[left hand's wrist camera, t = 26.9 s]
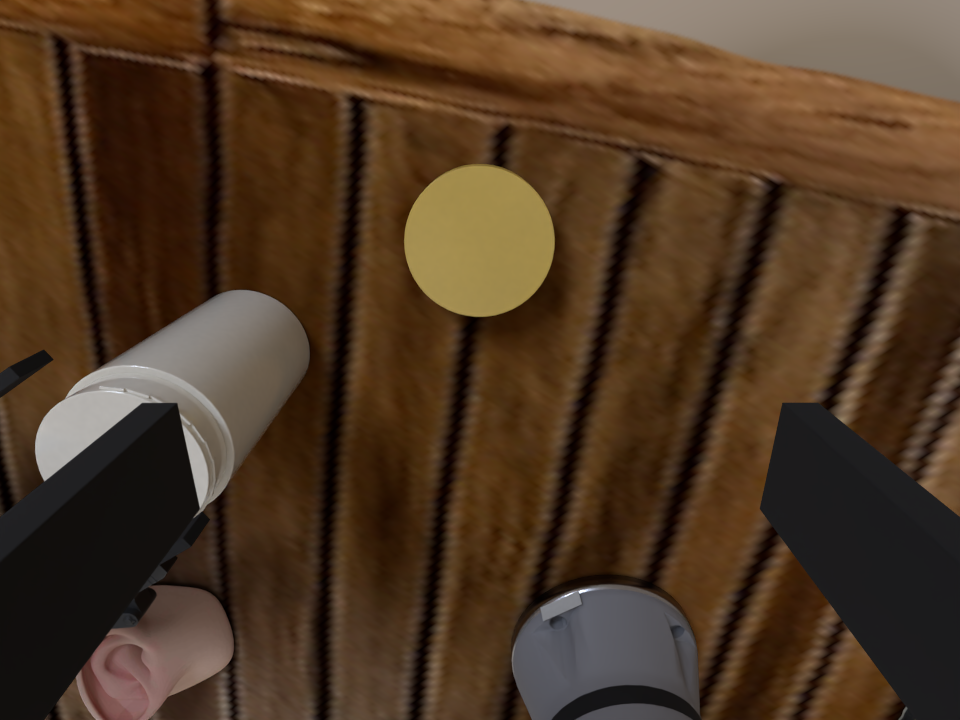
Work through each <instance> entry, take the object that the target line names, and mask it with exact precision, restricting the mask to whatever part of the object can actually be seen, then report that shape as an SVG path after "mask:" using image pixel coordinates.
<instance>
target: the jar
mask: <svg viewBox="0 0 960 720" xmlns="http://www.w3.org/2000/svg"><path fill="white" fill-rule="evenodd" d="M309 359H310V350H309V343H308V339H307V336H306V333H305V331H304V329H303V327H302V325H301V323H300V322H299V320H298V319H297V317H296V316H295V315H294V314H293V313H292V312H291V311H290V310H289V309H288V308H287V307H286V306H285V305H283V304H282V303H280V302H279V301H277V300H275V299H274V298H272V297H270V296H267V295H265V294H262V293H258V292H255V291H248V290H234V291H228V292H224V293H221V294H219V295H216V296H214V297H213V298H211V299H209V300H208V301H206V302H204V303H203V304H201V305H200V306H198V307H196V308H195V309H193V310H192V311H190V312H188V313H187V314H185V315H184V316H182V317H180V318H179V319H177V320H176V321H174V322H172V323H171V324H169V325H167V326H166V327H164V328H163V329H161V330H159V331H158V332H156V333H155V334H153V335H151V336H150V337H148V338H147V339H145V340H143V341H142V342H140V343H139V344H137V345H135V346H134V347H132V348H131V349H129V350H127V351H126V352H124V353H123V354H121V355H119V356H118V357H116V358H115V359H113V360H111V361H110V362H108V363H106V364H105V365H103V366H102V367H100V368H98V369H97V370H95V371H94V372H92V373H90V374H89V375H87V376H86V377H84V378H83V379H81V380H80V381H79V382H78V383H77V384H75V386H74V387H73V388H72V389H71V390H70V391H69V393H68V395H67V396H66V398H65V399H64V400H63V401H61V402H60V403H58V404H57V405H56V406H54V407H53V408H52V409H51V410H50V411H49V412H48V414H47V415H46V416H45V417H44V419H43V421H42V422H41V424H40V427H39V429H38V432H37V436H36V442H35V453H36V460H37V464H38V467H39V471H40V473H41V475H42V477H43V480H44V481H46V480H47V479H48V478H49V477H51V476H52V475H53V474H54V473H56V472H57V471H58V470H59V469H61V468H62V467H63V466H64V465H65V464H67V463H68V462H69V461H70V460H72V459H73V458H74V457H75V456H77V455H78V454H79V453H80V452H82V451H83V450H84V449H85V448H87V447H88V446H89V445H90V444H92V443H93V442H94V441H95V440H97V439H98V438H99V437H100V436H102V435H103V434H104V433H105V432H106V431H108V430H109V429H110V428H111V427H113V426H114V425H115V424H116V423H118V422H119V421H120V420H121V419H123V418H124V417H125V416H126V415H128V414H129V413H130V412H131V411H133V410H134V409H135V408H136V407H138V406H139V405H140V404H141V403H178V408H179V413H180V417H181V422H182V427H183V431H184V436H185V441H186V445H187V450H188V455H189V459H190V464H191V469H192V473H193V478H194V483H195V487H196V492H197V496H198V501H199V506H200V510H199V511H198V512H197V514H196V515H195V517H196V516H197V515H198V514H199V513H200V512H202V511H203V510H204V509H205V507H206V505H207V504H209V503H210V502H212V501H213V500H214V499H215V498H216V497H217V496H219V495H220V494H221V492H222V491H223V490H224V488H225V487H226V486H227V484H228V483H229V482H230V480H231V479H232V477H233V476H234V475H235V473H236V472H237V470H238V469H239V468H240V466H241V465H242V463H243V462H244V461H245V459H246V458H247V456H248V455H249V454H250V452H251V451H252V449H253V448H254V447H255V445H256V444H257V442H258V441H259V440H260V438H261V437H262V435H263V434H264V433H265V431H266V430H267V428H268V427H269V426H270V424H271V423H272V421H273V420H274V419H275V417H276V416H277V414H278V413H279V412H280V410H281V409H282V407H283V406H284V405H285V403H286V402H287V400H288V399H289V398H290V396H291V395H292V393H293V392H294V391H295V389H296V388H297V386H298V385H299V384H300V382H301V381H302V379H303V378H304V376H305V374H306V371H307V368H308V365H309Z"/></svg>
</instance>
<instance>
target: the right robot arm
mask: <svg viewBox="0 0 960 720" xmlns="http://www.w3.org/2000/svg"><path fill="white" fill-rule="evenodd" d="M52 360H54V359H53V358H52V357H51V356H50V355H49V354H48V353H47V352H46V351H45V350H42V351H40V352H38V353H36V354H34V355H32V356H30V357H28V358H26V359H24V360H22V361H20V362H18V363H16V364H14V365H12V366H10V367H8V368H7V369H6V370H4V371H3V372H2V373H0V398H1V397H2V396H3V395H5V394H6V393H8V392H9V391H10V390H12V389H13V388H15V387H16V386H17V385H19V384H20V383H22V382H23V381H24V380H26V379H27V378H28V377H30V376H31V375H33V374H34V373H35V372H37V371H38V370H40V369H41V368H42V367H44V366H45V365H47V364H48V363H49V362H51V361H52ZM209 520H210V519H209V518H208V517H207V516H206V515H205V514H204V513H203V512H201V513H199V514H198V515H197V516H196V517H194V518H193V519H192V521H191V522H190V523H189V525H188V526H187V527H186V529H185V530H184V531H183V533H182V534H181V535H180V537H179V538H178V539H177V541H176V542H175V544H174V545H173V546H172V548H171V549H170V550H169V552H168V553H167V554H166V556H165V557H164V558H163V560H162V561H161V562H160V564H159V565H158V567H157V568H156V569H155V571H154V572H153V573H152V575H151V576H150V577H149V579H148V580H147V581H146V583H145V584H144V585H143V587H142V588H141V589H140V591H139V592H138V594H137V595H136V596H135V598H134V599H133V600H132V602H131V603H130V604H129V606H128V607H127V608H126V610H125V611H124V612H123V614H122V615H121V617H120V618H119V619H118V621H117V622H116V623H115V625H114V626H113V627H112V629H118V628H130V627H135V626H136V625H137V624H138V623H139V621H140V620H141V619H142V617H143V616H144V614H145V613H146V611H147V610H148V609H149V607H150V606H151V604H152V603H153V601H154V600H155V598H156V596H157V593H156V592H155V590H154V589H152V588H150V587H149V586H151V585H152V584H154V583H156V582H157V581H159V580H161V579H163V578H164V577H165V576H166V574H167V573H168V571H169V570H170V568H171V567H172V566H173V564H174V563H175V561H176V560H177V557H176V555H178V554H179V553H181V552H183V551H184V550H186V549H188V548H190V547H191V546H192V545H193V543H194V542H195V540H196V539H197V537H198V536H199V535H200V533H201V532H202V530H203V529H204V527H205V526H206V524H207V523H208V522H209Z"/></svg>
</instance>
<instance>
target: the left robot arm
mask: <svg viewBox="0 0 960 720" xmlns="http://www.w3.org/2000/svg"><path fill="white" fill-rule="evenodd" d="M199 510H200V506H199V501H198V496H197V492H196V487H195V483H194V478H193V473H192V469H191V464H190V459H189V455H188V450H187V445H186V441H185V436H184V431H183V427H182V422H181V417H180V413H179V408H178V403H141V404H140V405H139V406H138V407H136V408H135V409H134V410H133V411H131V412H130V413H129V414H128V415H126V416H125V417H124V418H123V419H121V420H120V421H119V422H118V423H116V424H115V425H114V426H113V427H111V428H110V429H109V430H108V431H106V432H105V433H104V434H103V435H102V436H100V437H99V438H98V439H97V440H95V441H94V442H93V443H92V444H90V445H89V446H88V447H87V448H85V449H84V450H83V451H82V452H80V453H79V454H78V455H77V456H75V457H74V458H73V459H72V460H70V461H69V462H68V463H67V464H65V465H64V466H63V467H62V468H61V469H59V470H58V471H57V472H56V473H54V474H53V475H52V476H51V477H49V478H48V479H47V480H46V481H44V482H43V483H42V484H41V485H39V486H38V487H37V488H36V489H34V490H33V491H32V492H31V493H29V494H28V495H27V496H26V497H25V498H23V499H22V500H21V501H20V502H18V503H17V504H16V505H15V506H13V507H12V508H11V509H10V510H8V511H7V512H6V513H5V514H3V515H2V516H1V517H0V720H44V719H45V718H46V716H47V715H48V714H49V712H50V711H51V710H52V708H53V707H54V706H55V704H56V703H57V702H58V700H59V699H60V698H61V696H62V695H63V694H64V692H65V691H66V689H67V688H68V687H69V685H70V684H71V683H72V681H73V680H74V679H75V677H76V676H77V675H78V673H79V672H80V671H81V669H82V668H83V666H84V665H85V664H86V662H87V661H88V660H89V658H90V657H91V656H92V654H93V653H94V652H95V650H96V649H97V648H98V646H99V645H100V644H101V642H102V641H103V639H104V638H105V637H106V635H107V634H108V633H109V631H110V630H111V629H112V627H113V626H114V625H115V623H116V622H117V621H118V619H119V618H120V617H121V615H122V614H123V612H124V611H125V610H126V608H127V607H128V606H129V604H130V603H131V602H132V600H133V599H134V598H135V596H136V595H137V594H138V592H139V591H140V589H141V588H142V587H143V585H144V584H145V583H146V581H147V580H148V579H149V577H150V576H151V575H152V573H153V572H154V571H155V569H156V568H157V567H158V565H159V564H160V562H161V561H162V560H163V558H164V557H165V556H166V554H167V553H168V552H169V550H170V549H171V548H172V546H173V545H174V544H175V542H176V541H177V539H178V538H179V537H180V535H181V534H182V533H183V531H184V530H185V529H186V527H187V526H188V525H189V523H190V522H191V521H192V519H193V518H194V517H195V515H196V514H197V512H198V511H199ZM760 510H761V511H762V512H763V514H764V515H765V517H766V518H767V519H768V521H769V522H770V523H771V525H772V526H773V527H774V529H775V530H776V531H777V533H778V534H779V535H780V537H781V538H782V539H783V541H784V542H785V544H786V545H787V546H788V548H789V549H790V550H791V552H792V553H793V554H794V556H795V557H796V558H797V560H798V561H799V562H800V564H801V565H802V567H803V568H804V569H805V571H806V572H807V573H808V575H809V576H810V577H811V579H812V580H813V581H814V583H815V584H816V585H817V587H818V588H819V589H820V591H821V592H822V594H823V595H824V596H825V598H826V599H827V600H828V602H829V603H830V604H831V606H832V607H833V608H834V610H835V611H836V612H837V614H838V615H839V617H840V618H841V619H842V621H843V622H844V623H845V625H846V626H847V627H848V629H849V630H850V631H851V633H852V634H853V635H854V637H855V638H856V639H857V641H858V642H859V644H860V645H861V646H862V648H863V649H864V650H865V652H866V653H867V654H868V656H869V657H870V658H871V660H872V661H873V662H874V664H875V665H876V666H877V668H878V669H879V671H880V672H881V673H882V675H883V676H884V677H885V679H886V680H887V681H888V683H889V684H890V685H891V687H892V688H893V689H894V691H895V692H896V694H897V695H898V696H899V698H900V699H901V700H902V702H903V703H904V704H905V706H906V707H907V708H908V710H909V711H910V712H911V714H912V715H913V716H914V718H915V719H916V720H960V517H959V516H958V515H957V514H955V513H954V512H953V511H952V510H950V509H949V508H948V507H947V506H945V505H944V504H943V503H942V502H940V501H939V500H938V499H937V498H935V497H934V496H933V495H932V494H931V493H929V492H928V491H927V490H926V489H924V488H923V487H922V486H921V485H919V484H918V483H917V482H916V481H914V480H913V479H912V478H911V477H909V476H908V475H907V474H906V473H904V472H903V471H902V470H901V469H899V468H898V467H897V466H896V465H895V464H893V463H892V462H891V461H890V460H888V459H887V458H886V457H885V456H883V455H882V454H881V453H880V452H878V451H877V450H876V449H875V448H873V447H872V446H871V445H870V444H868V443H867V442H866V441H865V440H863V439H862V438H861V437H860V436H858V435H857V434H856V433H855V432H854V431H852V430H851V429H850V428H849V427H847V426H846V425H845V424H844V423H842V422H841V421H840V420H839V419H837V418H836V417H835V416H834V415H832V414H831V413H830V412H829V411H827V410H826V409H825V408H824V407H822V406H821V405H820V404H819V403H782V408H781V413H780V417H779V422H778V427H777V431H776V436H775V441H774V445H773V450H772V455H771V459H770V464H769V469H768V473H767V478H766V483H765V487H764V492H763V496H762V501H761V506H760ZM511 654H512V668H513V674H514V677H515V680H516V684H517V687H518V689H519V691H520V693H521V696H522V698H523V700H524V703H525V705H526V707H527V709H528V712H529V714H530V716H531V718H532V720H702V719H701V717H700V703H699V676H698V653H697V646H696V640H695V637H694V633H693V631H692V629H691V626H690V624H689V622H688V619H687V617H686V615H685V613H684V611H683V609H682V608H681V606H680V605H679V604H678V603H677V601H676V600H675V599H674V598H673V597H672V596H670V595H669V594H668V593H666V592H665V591H664V590H662V589H660V588H659V587H657V586H655V585H653V584H651V583H648V582H646V581H643V580H640V579H637V578H632V577H627V576H620V575H595V576H588V577H583V578H578V579H575V580H571V581H568V582H565V583H563V584H560V585H558V586H556V587H554V588H552V589H550V590H549V591H547V592H545V593H544V594H542V595H541V596H540V597H538V598H537V599H536V600H535V601H533V602H532V603H531V604H530V605H529V606H528V607H527V609H526V610H525V611H524V612H523V614H522V615H521V617H520V618H519V620H518V622H517V624H516V626H515V629H514V632H513V635H512V641H511Z"/></svg>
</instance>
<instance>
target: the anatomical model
mask: <svg viewBox="0 0 960 720" xmlns="http://www.w3.org/2000/svg"><path fill="white" fill-rule="evenodd" d="M149 587H150V588H152V589H154V590H155V592H156V593H157V596H156V598H155V600H154V601H153V603H152V604H151V606H150V607H149V609H148V610H147V611H146V613H145V614H144V616H143V617H142V619H141V620H140V621H139V623H138V624H137V625H136V626H135V627H130V628H118V629H111V630H110V631H109V633H108V634H107V635H106V637H105V638H104V639H103V641H102V642H101V644H100V645H99V646H98V648H97V649H96V650H95V652H94V653H93V654H92V656H91V657H90V658H89V660H88V661H87V662H86V664H85V665H84V666H83V668H82V669H81V671H80V672H79V673H78V675H77V676H76V680H77V686H78V689H79V692H80V695H81V698H82V700H83V702H84V704H85V705H86V707H87V709H88V710H89V711H90V713H91V714H92V716H93V717H94V718H95V719H96V720H148V719H149V718H150V717H151V716H152V715H153V714H154V713H155V712H156V711H157V710H158V709H159V708H160V707H161V705H162V704H163V703H164V701H165V700H166V698H167V697H168V696H170V695H173V694H176V693H178V692H180V691H182V690H185V689H187V688H189V687H191V686H194V685H196V684H197V683H199V682H201V681H203V680H205V679H207V678H209V677H211V676H213V675H214V674H216V673H217V672H219V671H220V670H222V669H223V668H224V667H225V666H226V665H227V664H228V663H229V662H230V660H231V658H232V655H233V652H234V639H233V634H232V630H231V626H230V623H229V620H228V618H227V615H226V613H225V611H224V609H223V607H222V605H221V603H220V602H219V601H218V599H217V598H216V597H215V596H214V595H212V594H211V593H209V592H207V591H205V590H202V589H198V588H192V587H183V586H170V585H153V586H149Z"/></svg>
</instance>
